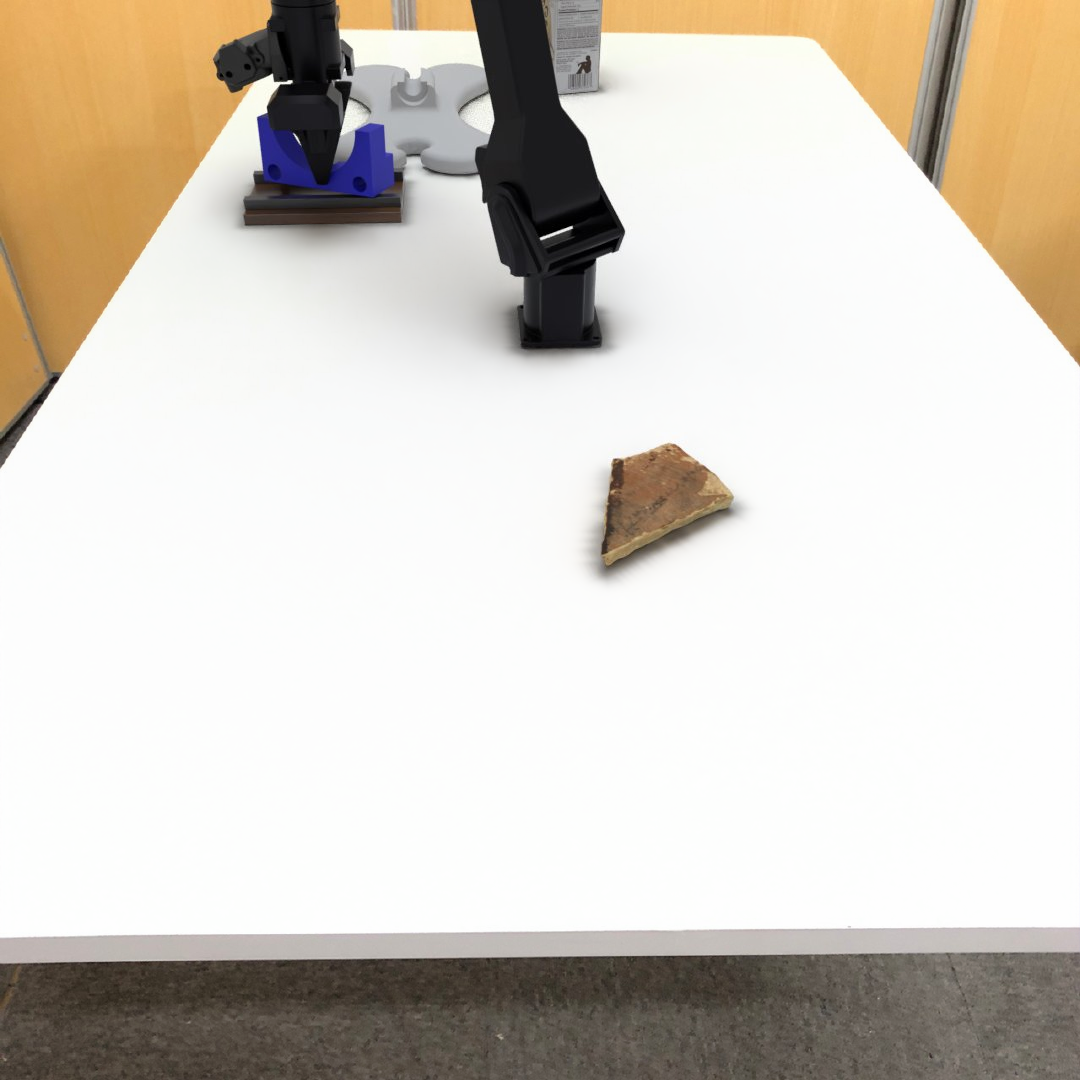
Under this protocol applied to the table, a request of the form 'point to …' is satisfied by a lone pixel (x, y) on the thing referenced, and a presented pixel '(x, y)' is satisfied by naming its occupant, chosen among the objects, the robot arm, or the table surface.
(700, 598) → the table surface
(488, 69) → the robot arm
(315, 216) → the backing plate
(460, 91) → the holder
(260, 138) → the blue cradle block
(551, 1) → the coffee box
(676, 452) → the shard
